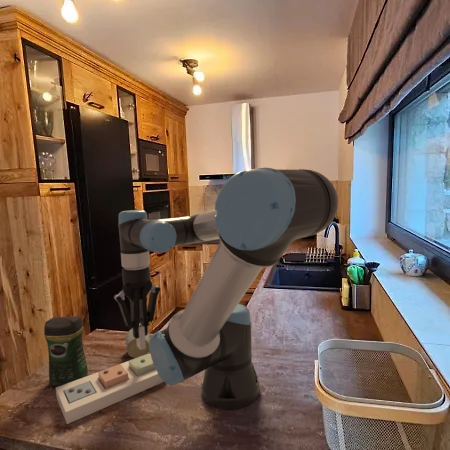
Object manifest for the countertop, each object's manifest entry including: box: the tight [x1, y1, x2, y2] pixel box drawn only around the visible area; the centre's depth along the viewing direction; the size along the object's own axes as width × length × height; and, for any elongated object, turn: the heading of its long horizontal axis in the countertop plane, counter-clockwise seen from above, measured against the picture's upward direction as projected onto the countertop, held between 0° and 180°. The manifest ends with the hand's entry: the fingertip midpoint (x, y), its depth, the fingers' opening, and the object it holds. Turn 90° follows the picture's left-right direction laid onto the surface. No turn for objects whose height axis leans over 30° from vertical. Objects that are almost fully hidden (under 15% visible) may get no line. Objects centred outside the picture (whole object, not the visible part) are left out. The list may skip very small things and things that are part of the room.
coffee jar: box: [43, 315, 89, 387], centre depth 91 cm, size 10×8×19 cm
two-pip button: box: [98, 363, 128, 389], centre depth 86 cm, size 6×6×3 cm
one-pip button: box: [128, 353, 155, 376], centre depth 91 cm, size 6×6×3 cm
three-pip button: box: [64, 381, 96, 404], centre depth 81 cm, size 6×6×3 cm
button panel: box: [55, 353, 165, 425], centre depth 86 cm, size 12×26×3 cm, turn 128°
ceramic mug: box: [125, 327, 150, 359], centre depth 105 cm, size 11×8×8 cm
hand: (141, 347), depth 91 cm, fingers closed
